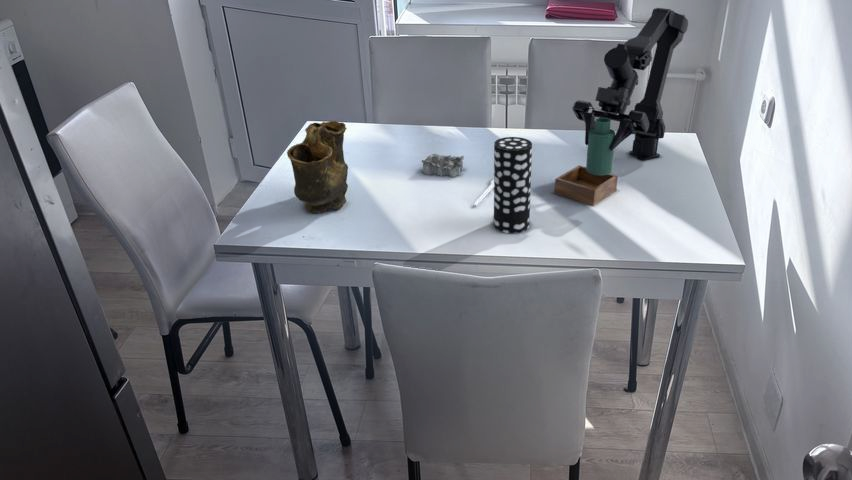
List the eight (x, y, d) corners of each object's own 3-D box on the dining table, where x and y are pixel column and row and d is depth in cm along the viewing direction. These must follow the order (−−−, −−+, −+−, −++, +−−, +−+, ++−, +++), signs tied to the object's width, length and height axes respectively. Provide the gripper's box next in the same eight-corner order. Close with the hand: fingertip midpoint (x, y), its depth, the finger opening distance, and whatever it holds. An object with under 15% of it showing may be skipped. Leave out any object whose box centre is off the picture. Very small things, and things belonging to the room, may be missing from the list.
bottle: (606, 164, 178) (611, 115, 171) (614, 174, 173) (620, 123, 166) (582, 166, 177) (586, 116, 170) (590, 176, 172) (594, 125, 165)
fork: (468, 206, 172) (468, 199, 171) (496, 176, 188) (496, 170, 187) (480, 208, 171) (480, 201, 170) (508, 178, 187) (508, 171, 186)
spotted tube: (533, 220, 166) (536, 139, 155) (523, 235, 159) (525, 152, 149) (500, 215, 168) (501, 135, 158) (488, 230, 161) (488, 147, 151)
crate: (578, 179, 187) (579, 165, 185) (616, 190, 181) (617, 175, 179) (554, 193, 179) (555, 178, 177) (593, 205, 173) (594, 190, 171)
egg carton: (420, 174, 189) (419, 160, 187) (429, 164, 195) (428, 150, 193) (458, 178, 187) (457, 163, 184) (465, 168, 193) (465, 153, 191)
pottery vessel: (317, 182, 183) (307, 108, 173) (358, 183, 183) (351, 109, 173) (288, 225, 162) (275, 143, 152) (335, 227, 162) (325, 145, 151)
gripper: (578, 67, 170) (554, 124, 167) (650, 79, 161) (627, 139, 159) (589, 91, 180) (567, 145, 177) (658, 103, 171) (636, 160, 169)
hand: (598, 147), depth 171 cm, fingers closed on bottle, 6 cm apart
